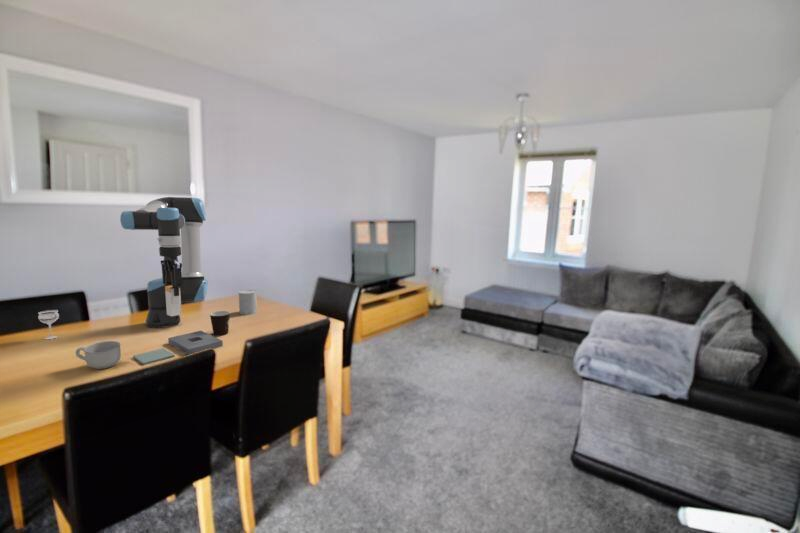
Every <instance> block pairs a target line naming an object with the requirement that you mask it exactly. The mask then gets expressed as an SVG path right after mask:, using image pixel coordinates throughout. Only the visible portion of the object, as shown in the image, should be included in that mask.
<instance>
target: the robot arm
mask: <svg viewBox="0 0 800 533" xmlns="http://www.w3.org/2000/svg"><path fill="white" fill-rule="evenodd" d="M119 217H120V224H121V227H122V229H124V230H132V231H135V230H141V231H143V230H144V231H146V230H149V231H151V230H152V231H154V230H155V231H157V232H158V238H157V241H158V246H160V247H159V248H158V250H159V257H163V260H160V265H161V274H162V277H160V278H156V279H151V280H149V281H148V282H147V288H146V289H147V290H146V293H147V303H148V305H147V306H148V312H147V315H146V318H145V326H146V327H147V328H166V327H173V326H175V325H177V324H180V323H181V315H176V316H169V315H167V309H166V293H165V286H171V285H172V287H170V288H171V293H172V304H177V303H180V295H181V304H182V303H199V302H203V301H205V299H206V297H207V293H208V279H206V278H205V275H204V274H203V273H202V269H201V268H202V267H201V265H202V264H201V232H200V231H201V230H200V229H201V226H203V224H204V222H205V221H207V215H206V209H205V205H204V202H203V200H202V199H201V198H199V197H187V196H186V197H180V196H179V197H177V196H176V197H174V196H167V197H159V198H156V199H153V200H151V201H149V202H147V204H146V205H145V206H144V207H141V208H139V209H137V210H125V211H122V212H121V213H120V216H119ZM179 256H181V262H179V259H178V257H179ZM179 288H180V294H179Z"/></svg>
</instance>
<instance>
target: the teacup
mask: <svg viewBox="0 0 800 533" xmlns="http://www.w3.org/2000/svg"><path fill="white" fill-rule="evenodd" d="M121 345H122V344H121V342H119V341H117V340H105V341H104V340H103V341H98V342H95V343H91V344H89V345H87V346H86V347H84V346H81V347H78V348H77V349H76V350H75V356H76V357H77V358H78V359H80V360H83V361H85V362H86V365H87V366H88V367H89V368H93V369H95V370H104V369H108V368H111V367H113V366H115V365H116V364H117V363H118V362H119V361H120V360H121V356H122V355H121V354H122V351H121ZM80 351H83V352H84V355H83V354H81V353H80Z"/></svg>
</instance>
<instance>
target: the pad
mask: <svg viewBox="0 0 800 533" xmlns="http://www.w3.org/2000/svg"><path fill="white" fill-rule="evenodd" d="M175 357H176V356H175V354H174V353H172V352H171V351H169V350H167V349H165V348H163V347H162V348H158V349H155V350H151V351H150V350H149V351H147V352H143V353H138V354H134V355H132V358H133V359H134V360H136V361H137V362H138V363H139V364H141V365H143V366H146V365H149V364H153V363H157V362H160V361H164V360H167V359H172V358H175Z"/></svg>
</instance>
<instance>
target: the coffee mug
mask: <svg viewBox="0 0 800 533" xmlns="http://www.w3.org/2000/svg"><path fill="white" fill-rule="evenodd" d="M230 315H231V313H230V311H228V310H218V311H212V312H211V313H210V314H209V317H210V322H211V328H212V334H213V336H217V337H220V336H221V337H222V336H225V335H228V334H229V327H230Z"/></svg>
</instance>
